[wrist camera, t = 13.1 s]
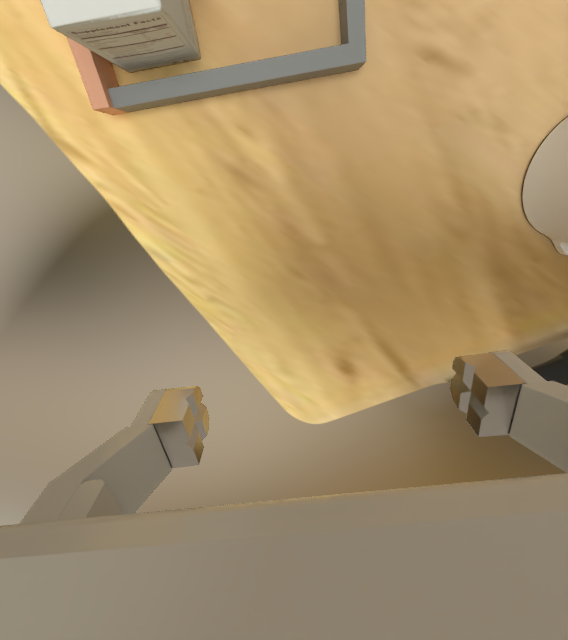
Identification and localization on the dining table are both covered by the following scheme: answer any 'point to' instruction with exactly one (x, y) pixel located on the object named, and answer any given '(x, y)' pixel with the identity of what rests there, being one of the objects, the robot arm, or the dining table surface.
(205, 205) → the dining table surface
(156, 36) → the supplement box
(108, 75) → the bay
